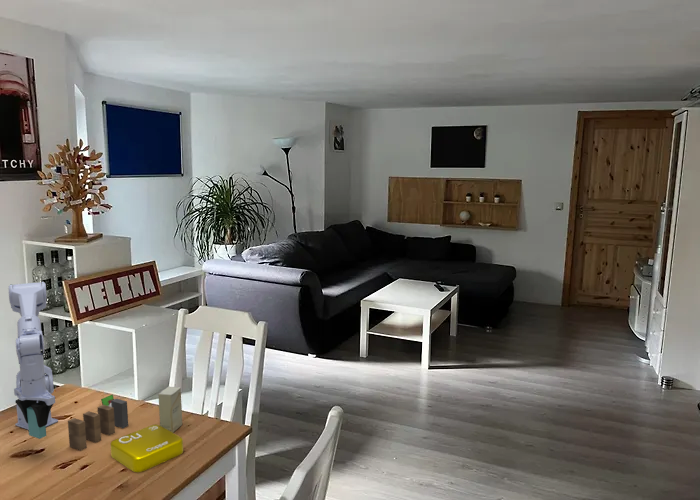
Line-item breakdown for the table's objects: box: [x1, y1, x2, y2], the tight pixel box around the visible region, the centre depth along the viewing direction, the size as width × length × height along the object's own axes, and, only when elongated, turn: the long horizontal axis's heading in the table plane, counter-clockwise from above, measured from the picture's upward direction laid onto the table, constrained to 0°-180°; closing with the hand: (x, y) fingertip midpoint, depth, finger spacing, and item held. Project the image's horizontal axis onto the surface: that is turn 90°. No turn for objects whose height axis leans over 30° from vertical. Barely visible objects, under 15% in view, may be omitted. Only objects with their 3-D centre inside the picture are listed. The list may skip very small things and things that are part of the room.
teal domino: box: [27, 407, 47, 440], centre depth 156 cm, size 4×2×8 cm, turn 64°
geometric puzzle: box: [100, 393, 115, 407], centre depth 179 cm, size 7×7×8 cm
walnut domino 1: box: [67, 417, 87, 452], centre depth 159 cm, size 4×2×8 cm, turn 64°
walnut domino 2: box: [82, 410, 102, 444], centre depth 164 cm, size 4×2×8 cm, turn 64°
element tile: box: [110, 423, 184, 473], centre depth 157 cm, size 15×15×5 cm
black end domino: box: [111, 398, 129, 429], centre depth 173 cm, size 4×2×8 cm, turn 64°
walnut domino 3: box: [97, 404, 116, 436], centre depth 168 cm, size 4×2×8 cm, turn 64°
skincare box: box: [157, 385, 183, 433], centre depth 171 cm, size 6×4×12 cm
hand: (36, 423), depth 156 cm, fingers closed on teal domino, 4 cm apart
